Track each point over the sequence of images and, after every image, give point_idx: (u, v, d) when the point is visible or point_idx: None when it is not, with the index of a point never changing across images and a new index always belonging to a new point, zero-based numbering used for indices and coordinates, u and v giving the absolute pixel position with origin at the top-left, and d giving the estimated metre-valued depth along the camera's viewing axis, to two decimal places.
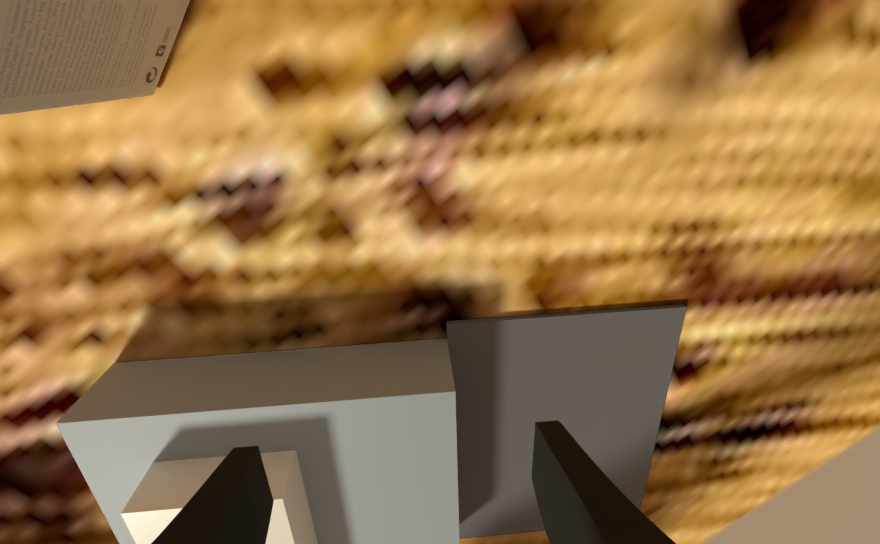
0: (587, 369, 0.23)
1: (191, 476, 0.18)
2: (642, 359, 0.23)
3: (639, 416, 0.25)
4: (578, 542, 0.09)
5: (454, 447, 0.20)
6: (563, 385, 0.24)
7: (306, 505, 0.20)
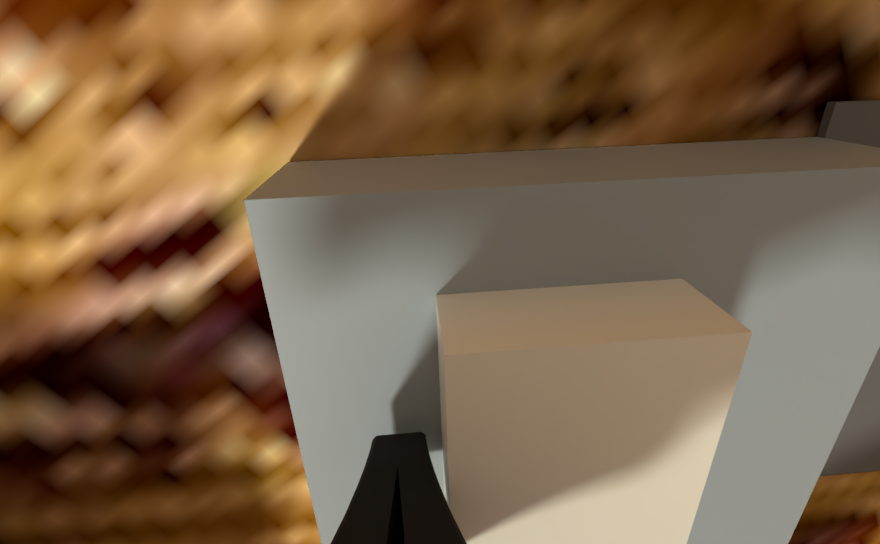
0: None
1: (529, 308, 0.10)
2: None
3: None
4: None
5: None
6: None
7: None
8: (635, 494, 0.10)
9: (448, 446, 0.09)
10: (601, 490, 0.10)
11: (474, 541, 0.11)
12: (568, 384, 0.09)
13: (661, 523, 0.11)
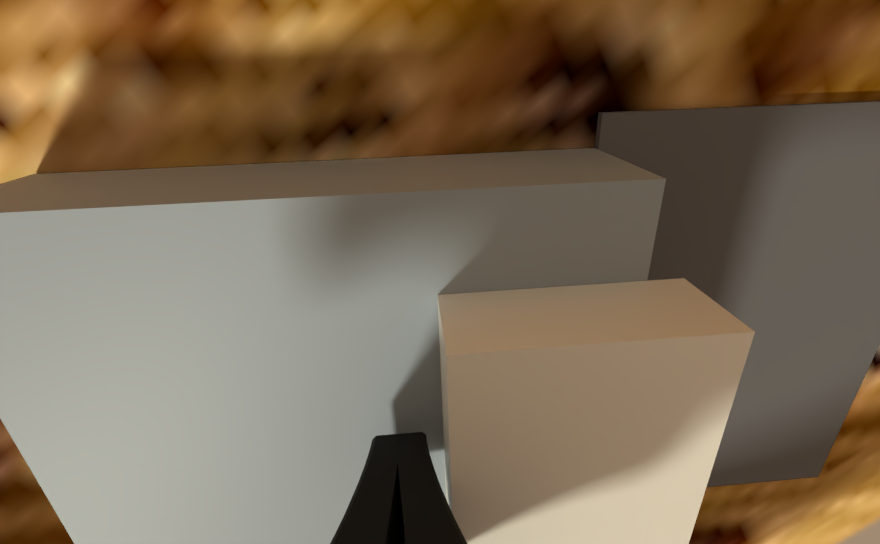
0: (809, 214, 0.14)
1: (531, 308, 0.10)
2: None
3: (865, 303, 0.16)
4: None
5: None
6: (765, 243, 0.15)
7: None
8: (637, 494, 0.10)
9: (450, 446, 0.09)
10: (603, 490, 0.10)
11: (476, 542, 0.11)
12: (570, 384, 0.09)
13: (663, 523, 0.11)
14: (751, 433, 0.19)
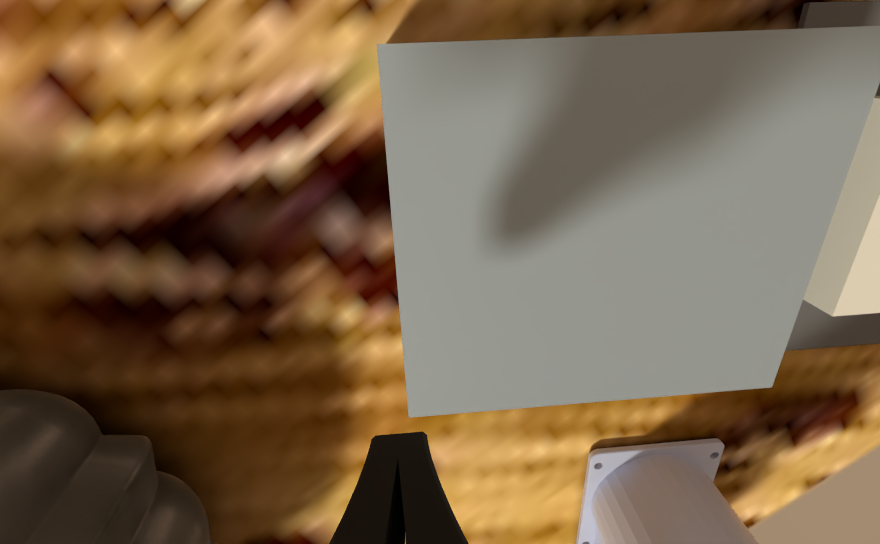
0: None
1: None
2: None
3: None
4: None
5: (859, 131, 0.15)
6: None
7: (875, 185, 0.18)
8: None
9: None
10: None
11: None
12: None
13: None
14: None
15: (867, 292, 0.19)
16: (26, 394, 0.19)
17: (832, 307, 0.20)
